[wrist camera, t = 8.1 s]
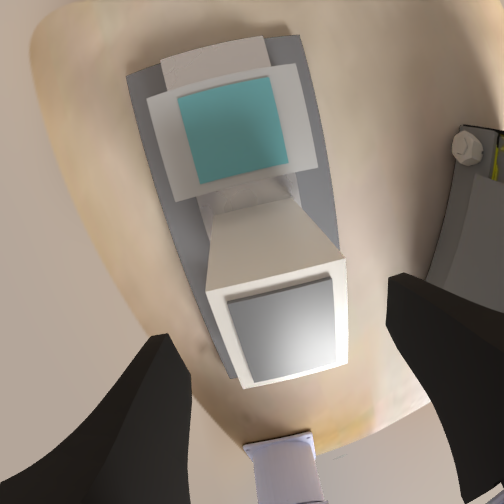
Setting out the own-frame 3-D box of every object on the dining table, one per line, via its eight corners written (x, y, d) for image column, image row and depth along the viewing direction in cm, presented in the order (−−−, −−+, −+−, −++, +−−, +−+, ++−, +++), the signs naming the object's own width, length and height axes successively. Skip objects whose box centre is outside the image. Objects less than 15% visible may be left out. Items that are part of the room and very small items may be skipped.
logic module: (304, 274, 16) (349, 366, 9) (234, 290, 16) (243, 392, 9) (291, 197, 14) (347, 260, 7) (213, 215, 14) (205, 294, 8)
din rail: (320, 357, 20) (322, 363, 19) (255, 373, 20) (256, 379, 19) (261, 38, 11) (262, 35, 10) (162, 62, 11) (159, 60, 10)
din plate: (341, 341, 21) (345, 350, 20) (229, 369, 21) (230, 378, 20) (294, 39, 12) (299, 34, 11) (131, 79, 12) (125, 76, 11)
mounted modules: (327, 340, 18) (338, 366, 16) (242, 362, 18) (245, 389, 16) (283, 73, 11) (296, 62, 9) (159, 103, 11) (145, 98, 9)
